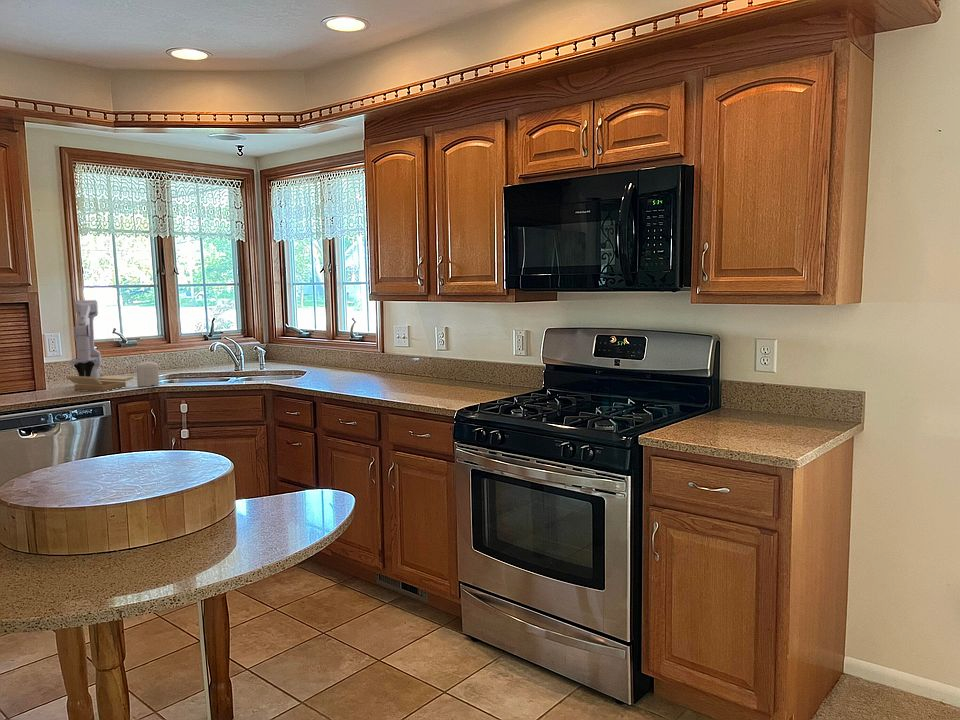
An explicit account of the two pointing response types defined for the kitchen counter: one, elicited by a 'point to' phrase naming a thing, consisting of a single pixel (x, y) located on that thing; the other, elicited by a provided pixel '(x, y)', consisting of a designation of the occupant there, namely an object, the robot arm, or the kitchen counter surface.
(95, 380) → the front flap
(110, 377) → the back flap
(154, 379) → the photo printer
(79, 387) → the carton
